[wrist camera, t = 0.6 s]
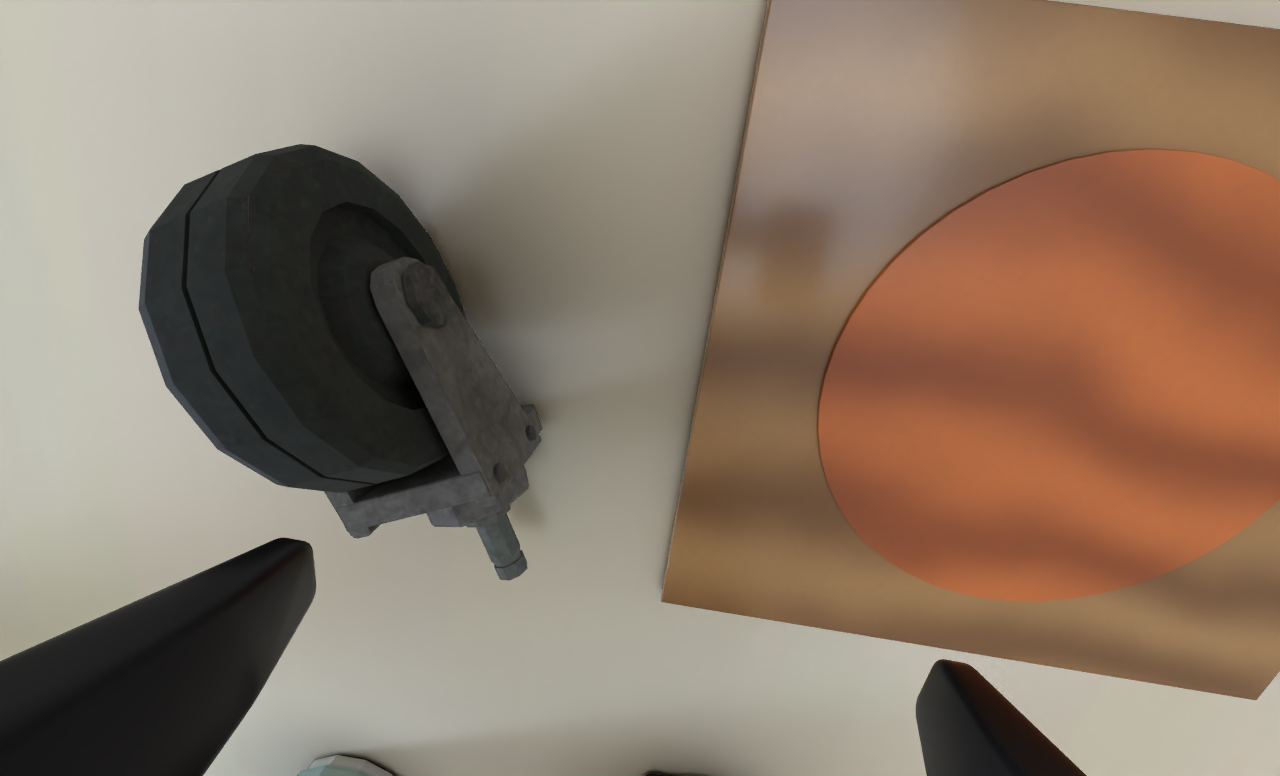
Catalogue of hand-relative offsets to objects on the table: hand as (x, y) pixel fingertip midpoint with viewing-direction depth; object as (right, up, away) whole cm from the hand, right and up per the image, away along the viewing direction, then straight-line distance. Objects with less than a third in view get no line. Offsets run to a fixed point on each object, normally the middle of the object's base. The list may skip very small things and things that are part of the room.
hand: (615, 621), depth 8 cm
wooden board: (+15, +3, +12) cm, 19 cm away
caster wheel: (-6, +4, +14) cm, 16 cm away
